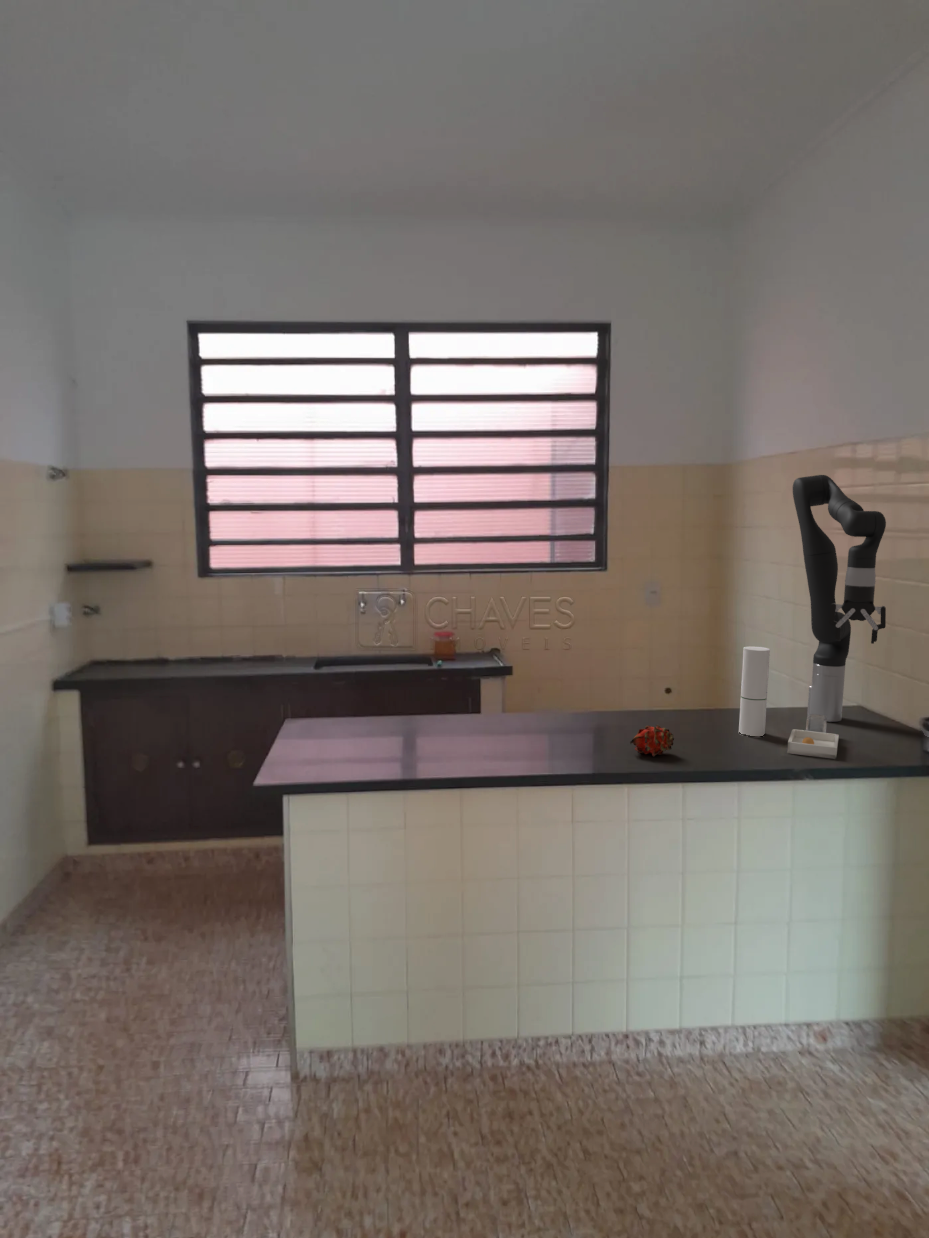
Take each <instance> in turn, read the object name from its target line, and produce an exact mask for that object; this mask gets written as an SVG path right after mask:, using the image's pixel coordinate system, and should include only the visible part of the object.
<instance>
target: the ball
mask: <svg viewBox="0 0 929 1238" xmlns="http://www.w3.org/2000/svg"><path fill="white" fill-rule="evenodd" d="M802 743H806V744H814V741H813V739H812V738H810V737H806V738H804V739H803V741H802Z"/></svg>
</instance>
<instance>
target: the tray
mask: <svg viewBox="0 0 929 1238" xmlns="http://www.w3.org/2000/svg"><path fill="white" fill-rule="evenodd" d="M839 736H840V735H839V733H830V732H826V733H822V732H813V731H806V729H804V730H803V729H794V728H793V729H791V733H790V735H789V738H788V741H787V750H786V751H787V752H786V754H793V755H801V756H809V757H815V758H823V759H832V760H837V756H838V755H837V754H838V746H839ZM806 737H810V738H812V739H813V741H814V744H806V743H802V741H803V739H804V738H806Z"/></svg>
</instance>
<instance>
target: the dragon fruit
mask: <svg viewBox="0 0 929 1238" xmlns="http://www.w3.org/2000/svg"><path fill="white" fill-rule="evenodd" d="M674 741H675V738H674V733H672V732H671V731H670V729H669V728H666V727H661V726H660V725H659V724H656V726H652V725H651V726H650V725H645V726H644V728H640V729H638V731H637V733H636V735H634V737H633V738H632V739H631V741H629V743H630V745H632V744H633V745H634V746H635V747H634V751H637V754H643V755H649V754H651V756H652V757H655V756H658V755H659V756H662V755H663V753H664V752H666V751H670V750H672V746H673V745H674Z"/></svg>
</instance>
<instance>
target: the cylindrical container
mask: <svg viewBox="0 0 929 1238" xmlns="http://www.w3.org/2000/svg"><path fill="white" fill-rule="evenodd" d="M742 649H743V651H742V667H741V668H742V669H741V670H742V671H741V684H740V685H741V688H740V705H739V706H740V707H739V724H738V733H739V732H740V733H741V734H746V735H750V736H763V735H764V734H765V733H766V722H767V721H766V720H767V719H766V718H767V717H766V716H767V703H768V702H767V701H768V689H769V688H768V685H769V670H770V669H769V668H770V656H771V655H770V652H771V649H770V648H769V647H764V646H753V645H751V646H748V645H747V646H744V647H743V648H742ZM741 734H740V735H741ZM763 737H764V736H763Z"/></svg>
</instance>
